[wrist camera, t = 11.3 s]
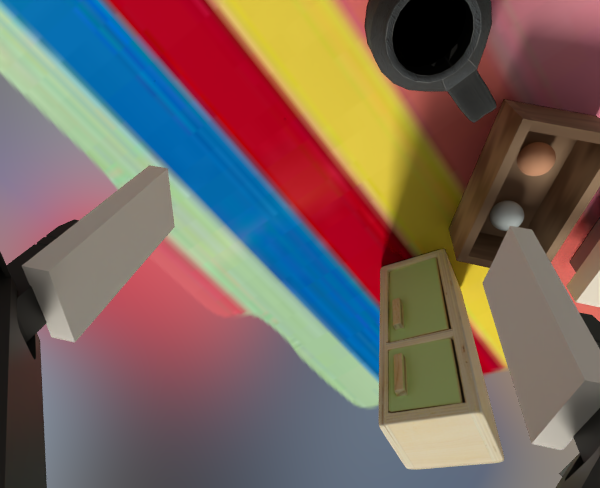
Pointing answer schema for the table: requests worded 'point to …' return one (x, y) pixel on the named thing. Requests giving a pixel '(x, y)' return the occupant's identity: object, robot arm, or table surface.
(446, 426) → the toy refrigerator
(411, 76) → the mug
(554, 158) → the ball terracotta
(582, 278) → the lid
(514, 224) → the ball bluegrey
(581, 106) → the table surface
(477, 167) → the box
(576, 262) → the block
